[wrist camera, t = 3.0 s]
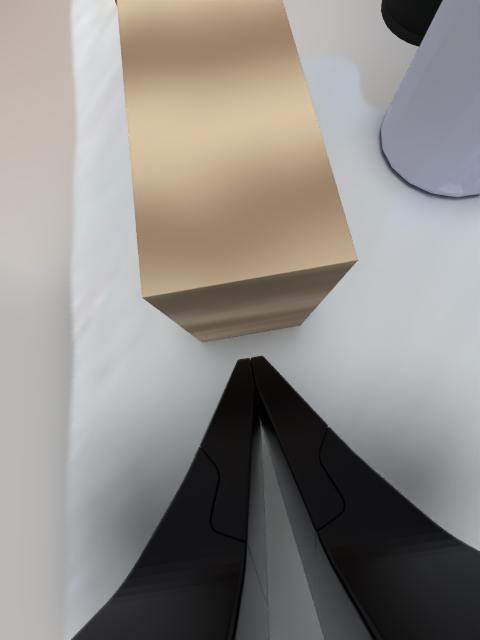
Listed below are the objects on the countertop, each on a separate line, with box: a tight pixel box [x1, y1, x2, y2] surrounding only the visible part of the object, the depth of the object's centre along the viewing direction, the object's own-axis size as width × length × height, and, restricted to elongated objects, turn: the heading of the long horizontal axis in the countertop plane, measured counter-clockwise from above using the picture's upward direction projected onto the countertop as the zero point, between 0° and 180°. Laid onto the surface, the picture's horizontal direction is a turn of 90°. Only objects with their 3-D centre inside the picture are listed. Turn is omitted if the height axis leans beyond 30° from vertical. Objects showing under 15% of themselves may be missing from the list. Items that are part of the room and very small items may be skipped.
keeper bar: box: [117, 0, 358, 342], centre depth 13 cm, size 16×6×9 cm, turn 9°
